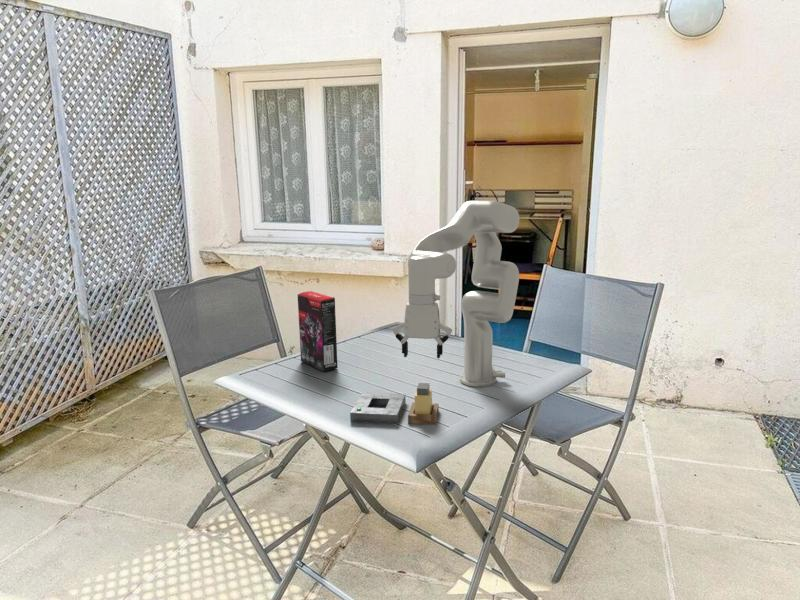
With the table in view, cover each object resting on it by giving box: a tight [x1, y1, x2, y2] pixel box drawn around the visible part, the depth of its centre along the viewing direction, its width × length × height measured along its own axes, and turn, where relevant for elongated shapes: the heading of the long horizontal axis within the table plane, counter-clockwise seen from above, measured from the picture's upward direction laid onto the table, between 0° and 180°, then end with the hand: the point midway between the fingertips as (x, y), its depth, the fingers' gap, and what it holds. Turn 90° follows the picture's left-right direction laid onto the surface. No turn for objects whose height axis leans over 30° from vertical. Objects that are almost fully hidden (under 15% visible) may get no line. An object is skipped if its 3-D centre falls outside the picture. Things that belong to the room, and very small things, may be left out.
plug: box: [414, 382, 433, 415], centre depth 178 cm, size 4×6×10 cm
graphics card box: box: [297, 290, 338, 372], centre depth 223 cm, size 17×7×27 cm, turn 40°
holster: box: [407, 401, 440, 426], centre depth 179 cm, size 8×10×2 cm
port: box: [349, 391, 407, 425], centre depth 183 cm, size 14×16×3 cm
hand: (422, 356), depth 174 cm, fingers open, 9 cm apart
